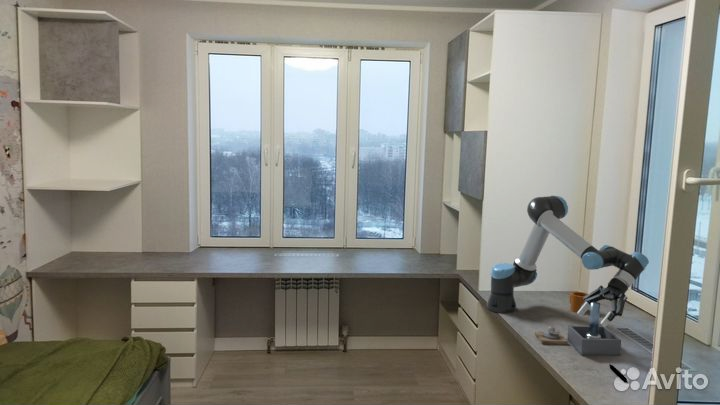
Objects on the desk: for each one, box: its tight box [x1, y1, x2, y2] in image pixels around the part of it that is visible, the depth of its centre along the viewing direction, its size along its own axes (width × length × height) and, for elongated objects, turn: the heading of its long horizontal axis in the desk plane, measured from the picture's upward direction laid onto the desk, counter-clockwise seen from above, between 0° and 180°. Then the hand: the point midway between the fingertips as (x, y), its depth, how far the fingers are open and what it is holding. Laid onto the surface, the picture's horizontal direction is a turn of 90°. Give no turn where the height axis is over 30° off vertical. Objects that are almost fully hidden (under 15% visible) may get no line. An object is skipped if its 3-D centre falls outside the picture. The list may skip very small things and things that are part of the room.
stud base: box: [534, 326, 569, 345], centre depth 233 cm, size 11×11×6 cm
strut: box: [585, 301, 601, 339], centre depth 223 cm, size 6×6×19 cm
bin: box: [566, 325, 622, 357], centre depth 224 cm, size 16×16×7 cm
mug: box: [569, 291, 590, 314], centre depth 274 cm, size 9×12×9 cm
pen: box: [608, 363, 628, 384], centre depth 199 cm, size 2×14×2 cm, turn 179°
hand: (590, 320), depth 222 cm, fingers open, 13 cm apart
